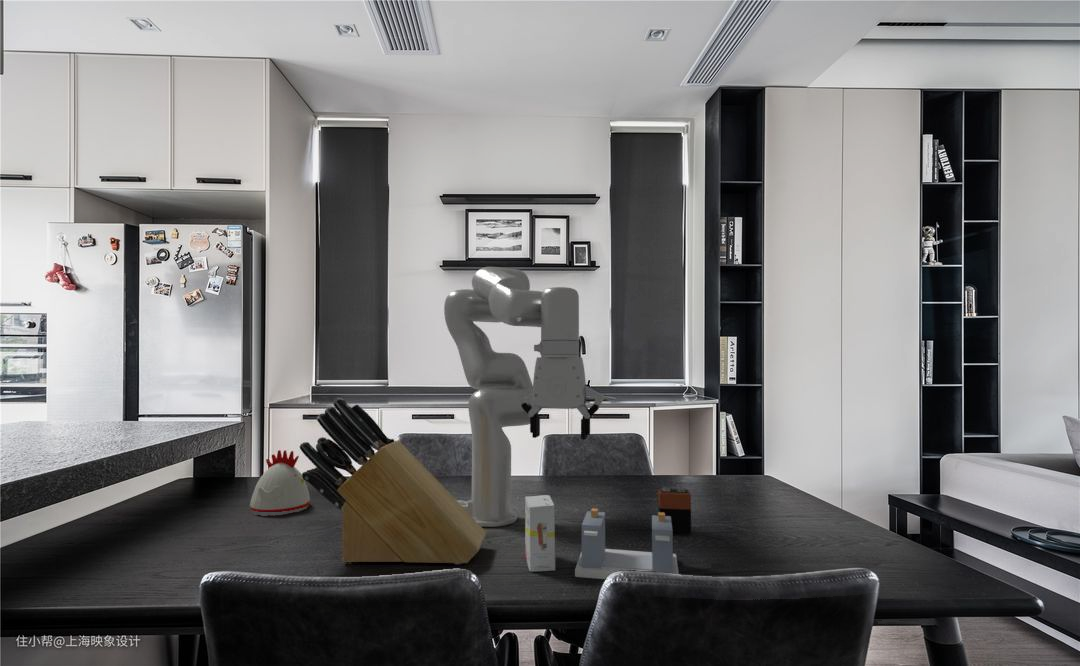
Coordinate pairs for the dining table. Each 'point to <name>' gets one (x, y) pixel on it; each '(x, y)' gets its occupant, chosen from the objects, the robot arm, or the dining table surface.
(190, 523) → the dining table surface
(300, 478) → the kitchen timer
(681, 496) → the battery
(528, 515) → the ink box
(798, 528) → the dining table surface
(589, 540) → the board
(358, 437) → the knife block
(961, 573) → the dining table surface
